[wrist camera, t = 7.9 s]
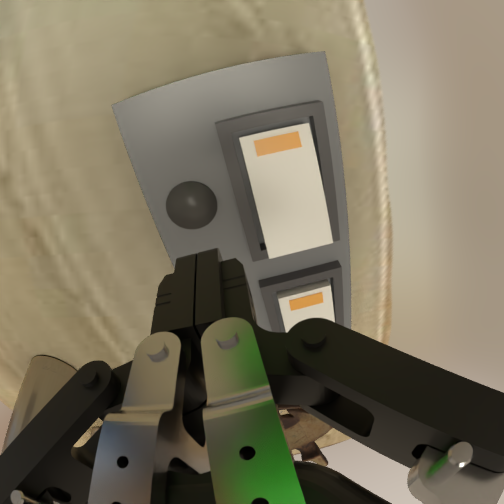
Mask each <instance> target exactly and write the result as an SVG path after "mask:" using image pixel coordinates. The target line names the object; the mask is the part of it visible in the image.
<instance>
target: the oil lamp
mask: <svg viewBox="0 0 504 504" xmlns="http://www.w3.org/2000/svg"><path fill="white" fill-rule="evenodd" d="M277 406H278V410H284V409H287V411H288V413H290V414H292V415H283V416H281V419H282V423H283V426H284V429H285V432H286V435H287V438H288V441H289V444H290V447H291V450H293V449H297V450H299V451H300V452H301V455H302V461H313V462H315V463H317V464H319V465H322V466H327V465H328V461H327V459H326V457H325V456H324V455H323V454H322V452H321V451H320V449H319V447H318V446H317V444H316V443H315V442H314V441H315V440H317V439H318V438H319V437H321V436H323V435H324V434H326V433H327V432H328V431H329V430H330V429H332V428H333V427H331V426H330V425H328V424H326V423H324V422H323V421H321V420H319V419H318V418H316V417H314V416H313V415H311V414H310V413H308V412H306V411H305V410H303V409H300V408H301V407H300V405H285V404H277Z"/></svg>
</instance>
